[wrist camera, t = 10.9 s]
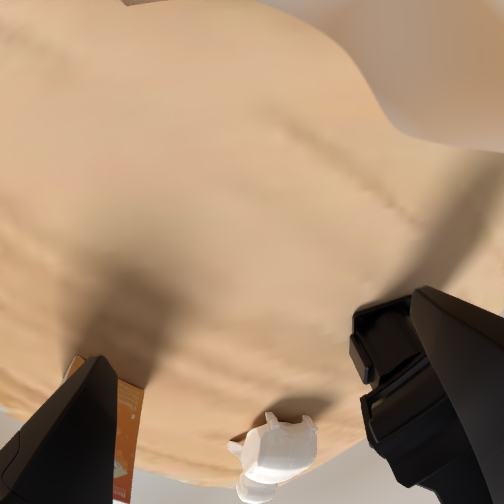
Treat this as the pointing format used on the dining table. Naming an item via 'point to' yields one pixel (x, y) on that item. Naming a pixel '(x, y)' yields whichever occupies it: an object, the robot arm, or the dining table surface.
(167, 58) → the dining table surface
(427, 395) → the robot arm
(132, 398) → the small box
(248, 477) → the white animal figurine
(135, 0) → the walnut block
